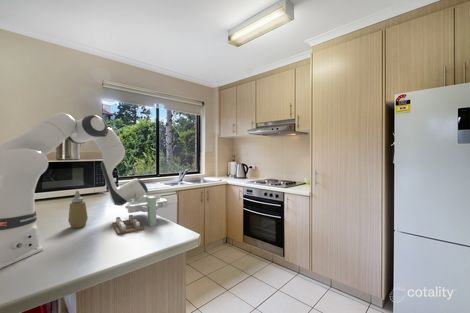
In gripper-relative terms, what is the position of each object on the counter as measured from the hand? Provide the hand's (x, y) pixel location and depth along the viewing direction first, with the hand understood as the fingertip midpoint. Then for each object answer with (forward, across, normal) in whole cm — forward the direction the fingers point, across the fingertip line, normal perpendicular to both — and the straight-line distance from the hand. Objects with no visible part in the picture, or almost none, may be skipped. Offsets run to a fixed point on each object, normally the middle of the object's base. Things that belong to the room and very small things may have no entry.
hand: (152, 208), depth 111 cm
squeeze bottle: (-22, -30, +9) cm, 38 cm away
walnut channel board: (-5, -11, +8) cm, 14 cm away
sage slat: (-1, 0, +8) cm, 8 cm away
